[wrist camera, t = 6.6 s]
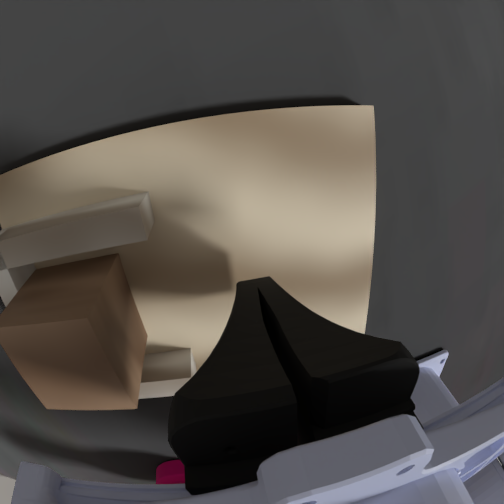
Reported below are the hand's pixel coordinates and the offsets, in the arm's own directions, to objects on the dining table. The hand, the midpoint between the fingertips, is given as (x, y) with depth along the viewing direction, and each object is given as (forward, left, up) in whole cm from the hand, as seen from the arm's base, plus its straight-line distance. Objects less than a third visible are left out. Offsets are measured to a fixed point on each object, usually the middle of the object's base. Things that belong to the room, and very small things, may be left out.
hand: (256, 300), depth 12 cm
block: (0, +8, -2) cm, 8 cm away
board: (0, +3, -3) cm, 4 cm away
